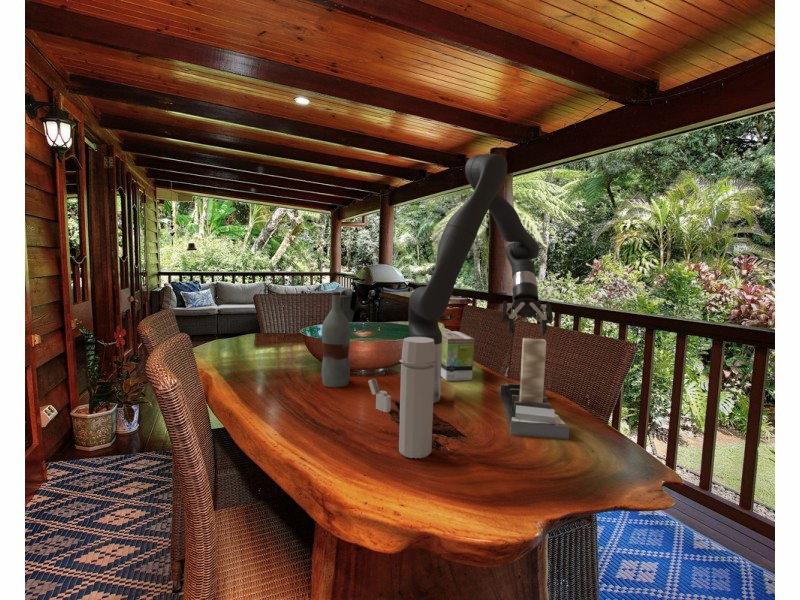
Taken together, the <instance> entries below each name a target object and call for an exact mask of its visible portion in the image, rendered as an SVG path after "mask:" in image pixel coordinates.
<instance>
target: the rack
mask: <svg viewBox="0 0 800 600" xmlns="http://www.w3.org/2000/svg"><path fill="white" fill-rule="evenodd" d="M499 395H500V399H501V403H502V406H503V411H504V414H505V419H506V422H507V426H508V429H509V435H510V436H519V437H529V438H530V437H531V438H543V439H555V440H556V439H557V440H569V439H570V425H569V424H565V425H559V424H545V423H530V422H518V421H512V417H515V413H516V405H518V406H527V407H536V408H545V409H552V405H551V403H549V402H548V397H547V396H546V395H547V388H546V386H544V389H543V403H537V402H522V401H519V397H520V383H511V382H508V384H505V383H504V384H503V383H502V384H500V390H499Z"/></svg>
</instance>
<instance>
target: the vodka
mask: <svg viewBox="0 0 800 600" xmlns="http://www.w3.org/2000/svg"><path fill="white" fill-rule="evenodd" d="M331 294H332V295H331V297H332V298H331V309H330V311H329V312H328V314H327V316H326V317H325V318H324V320H323V322H322V326H321V342H322V345H321V346H322V355H323V356H322V363H321V369H320V370H321V371H320V372H321V380H322V384H323V386H325V387H326V386H327V387H328V388H343V387H347V385H348V384H349V381H350V376H351V375H350V374H351V369H350V358H349V354H350V353H349V352H350V341H351V326H350V322H349V320H348V319H347V317H346V315H345V314H344V311H343V310H342V309H341V291H332V292H331ZM327 387H326V388H327Z"/></svg>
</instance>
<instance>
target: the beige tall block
mask: <svg viewBox="0 0 800 600" xmlns="http://www.w3.org/2000/svg"><path fill="white" fill-rule="evenodd" d="M521 344H522V346H521V347H522V348H521V363H520V365H521V367H520V379H519V380H520V382H519V384H520V397H519V401H522V402H537V403H543V389H544V387H545V385H544V384H545V369H546V355H547V354H546V353H547V340H546V339H545V338H528V337H522V343H521Z"/></svg>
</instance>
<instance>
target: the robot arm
mask: <svg viewBox="0 0 800 600" xmlns="http://www.w3.org/2000/svg"><path fill="white" fill-rule="evenodd" d="M464 168H465V169H464V173H465V174H464V175H465V177H466V179H467V181H468V184H469V185H470V186H471V187H472V188H473V192H472V193H471V195H470V197H469V198H468V199H467V201H465V202H464V203H463V204H462V205H461V206H460V207H459V208H458V209H457V210H456V211H455V212H454V213H453V214H452V216H451V217H450V218H449V219H448V221H447V223H446V225H445V227H444V229H443V231H442V234H441V236H440V239H439V242H438V247H437V252H436V253H437V254H436V261H435V266H434V269H433V273H432V275H431V276H430V278H429V280H428V283H427V285H425V286H420V287H417V288H415V289H414V290H412V292H411V293H410V297H409V299H408V331H409V335H410V336H409V337H426V338H431V339H433V340H434V345H435V362H437V363H436V364H433V365H434V391H433V404H434V403H435V404H436V403H438V402H440V400H441V383H442V382H441V380H442V379H441V355H442V333H441V332H442V330H440V327H439V319H441V317H442V316H444V314H445V312H446V311H447V309H448V306H449V304H450V300H451V297H452V294H453V291H454V288H455V285H456V283H457V282H456V281H457V279H458V277H459V275H460V273H461V271H462V268H463V266H464V264H465V261H466V259H467V257H468V255H469V253H470V251H471V249H472V246H473V245H474V242H475V241H476V238H477V235H478V233H479V230H480V228H481V226H482V223H483V221H484V219H485V217H486V215H487V213H488V211H489V213H490V214H491V216H492V218H493V220H494V222H495V224H496V225H497V228H498V230H499V232H500V233H501V235H502V238H503V240H504V241H506V242H507V243H509V244H507V246H506V248H505V255H506V259H507V260H508V263H509V264H510V267H511V274H512V275H511V276H512V277H511V278H512V281H511V291H512V294H511V295H512V302H508V301H507V300H503V302H502V307H501V309H502V310H501V321H502V322H503V323H504V322H507V327H508V332H509V333H510V334H512V335H514V334H515V333H514V332H515V321H516V320H517V319H518V318H519V317H521V318H522V319H523V318H529V319H532V318H533V319H534V320H535V321H537V322H539V323H540V332H541V333H540V334H541V336H545V334H547V331H548V324H552V322H553V319H554V314H553V310H552V305H551V302H549V301H548V302H546V303H545V304H543V303H542V304H541V302H540V298H539V289H538V281H537V276H536V267H535V264H534V262H533V261H532V260H533V259H536V258H537V257H538V256H539V254H540V247H539V244H538V242H537V241H536V240H535V238H534V237H533V236H532V235H530V233H529V232H528V231H527V230H526V228H525V227H524V224H523V223H522V221H521V218H520V216H519V214H518V212H517V210H516V209H515V208H514V207H513V206H512V205H511V204H510V202H508V200H507V199H505V197H504V196H503V195H502V194H501V193H500V189H501V187H502V186H503V184H504V182H505V179H506V176H507V174H508V163H507V159H506V158H505V156H504V155H502V154H497V153H484V154H483V153H482V154H475V155H472V156H471V157H470V158H468V160H467V162H466V164H465V166H464ZM510 309H512V312H511V314H509V315H508V311H509V310H510ZM543 312H544V313H545V315H546V316H545V315H544V314H543Z"/></svg>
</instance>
